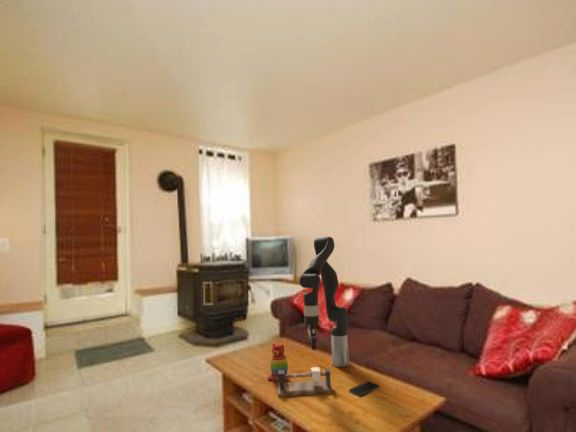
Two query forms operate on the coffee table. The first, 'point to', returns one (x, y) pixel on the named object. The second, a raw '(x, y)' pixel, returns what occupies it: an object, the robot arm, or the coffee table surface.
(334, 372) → the coffee table surface
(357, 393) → the phone
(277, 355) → the stacking bear
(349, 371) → the coffee table surface
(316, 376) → the sleeve
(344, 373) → the coffee table surface
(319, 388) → the grey slider rail toy
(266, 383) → the coffee table surface
